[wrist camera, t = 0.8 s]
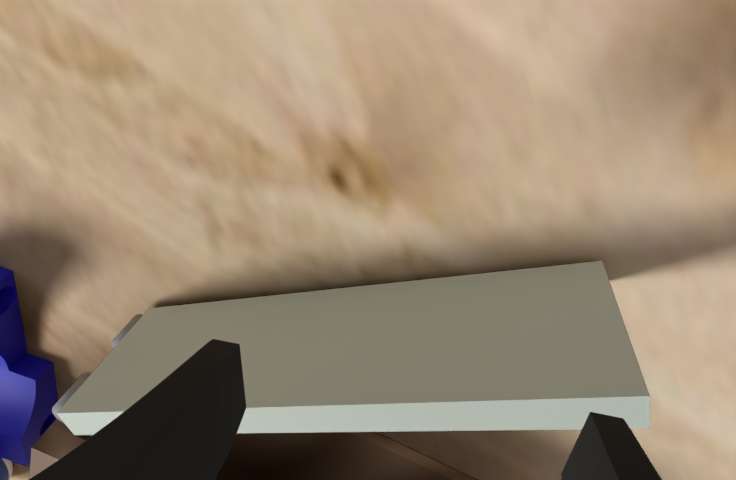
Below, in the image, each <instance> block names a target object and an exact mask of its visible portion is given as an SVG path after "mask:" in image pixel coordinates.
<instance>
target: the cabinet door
mask: <svg viewBox="0 0 736 480" xmlns="http://www.w3.org/2000/svg"><path fill="white" fill-rule="evenodd" d="M212 339H216V340H221V341H227V342H232V343H237V344H240V353H241V362H242V371H243V381H244V390H245V399H246V410H245V413H244V415H243V418H242V421H241V423H240V426H239V429H238V431H237V433H313V432H401V431H488V430H576V429H582V428H583V426H584V424H585V422H586V420H587V418H588V415H589V413H590V412H594V413H599V414H604V415H609V416H614V417H619V418H623V419H624V420H625V422H626V423H627V424H628V426H629V428H630V429H650V395H649V392H648V389H647V387H646V384H645V381H644V378H643V375H642V372H641V370H640V367H639V364H638V361H637V358H636V355H635V353H634V350H633V347H632V344H631V341H630V338H629V336H628V333H627V330H626V327H625V324H624V321H623V318H622V316H621V313H620V310H619V307H618V304H617V301H616V299H615V296H614V293H613V290H612V287H611V284H610V282H609V279H608V276H607V273H606V270H605V267H604V265H603V262H602V261H595V262H585V263H576V264H566V265H557V266H547V267H538V268H528V269H519V270H509V271H500V272H490V273H481V274H471V275H462V276H452V277H443V278H433V279H424V280H414V281H405V282H395V283H386V284H376V285H367V286H357V287H348V288H338V289H329V290H319V291H310V292H300V293H290V294H281V295H271V296H262V297H252V298H243V299H233V300H224V301H214V302H205V303H195V304H186V305H176V306H167V307H157V308H149V309H148V310H147V311H146V312H145V314H144V315H141V314H139V315H136V316H134V317H133V319H132V320H131V321H130V322H129V323H128V324H127V325H126V326H125V327H124V328H123V330H122V331H121V332H120V333H119V334H118V335H117V336H116V337H115V338H114V340H113V341H112V343H111V345H112V348H113V350H112V351H111V352H110V353H109V354H108V355H107V357H106V358H105V359H104V360H103V361H102V362H101V363H100V365H99V366H98V367H97V368H96V369H95V370H94V371H93V372H92V373H84V374H82V375H81V376H80V377H79V378H78V379H77V381H76V382H75V383H74V384H73V385H72V386H71V387H70V388H69V389H68V391H67V392H66V393H65V394H64V395H63V396H62V397H61V398H60V399H59V401H58V402H57V403H56V404H55V405H54V406H53V407H52V412H53V414H54V416H55V417H56V418H57V419H58V420H59V421H61V422H62V423H64V424H65V425H66V426H67V427H68V428H69V429H70V431H71V432H72V433H73V434H74V435H94V434H95V433H96V432H98V431H99V430H100V429H102V428H103V427H105V426H106V425H107V424H109V423H110V422H111V421H113V420H114V419H115V418H117V417H118V416H119V415H120V414H122V413H123V412H124V411H126V410H127V409H128V408H129V407H131V406H132V405H133V404H134V403H136V402H137V401H138V400H139V399H141V398H142V397H143V396H144V395H145V394H147V393H148V392H149V391H150V390H152V389H153V388H154V387H155V386H157V385H158V384H159V383H160V382H161V381H163V380H164V379H165V378H166V377H167V376H169V375H170V374H171V373H172V372H173V371H175V370H176V369H177V368H178V367H179V366H181V365H182V364H183V363H184V362H185V361H186V360H188V359H189V358H190V357H191V356H192V355H193V354H195V353H196V352H197V351H198V350H199V349H200V348H202V347H203V346H204V345H205V344H206V343H208V342H209V341H210V340H212Z"/></svg>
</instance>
